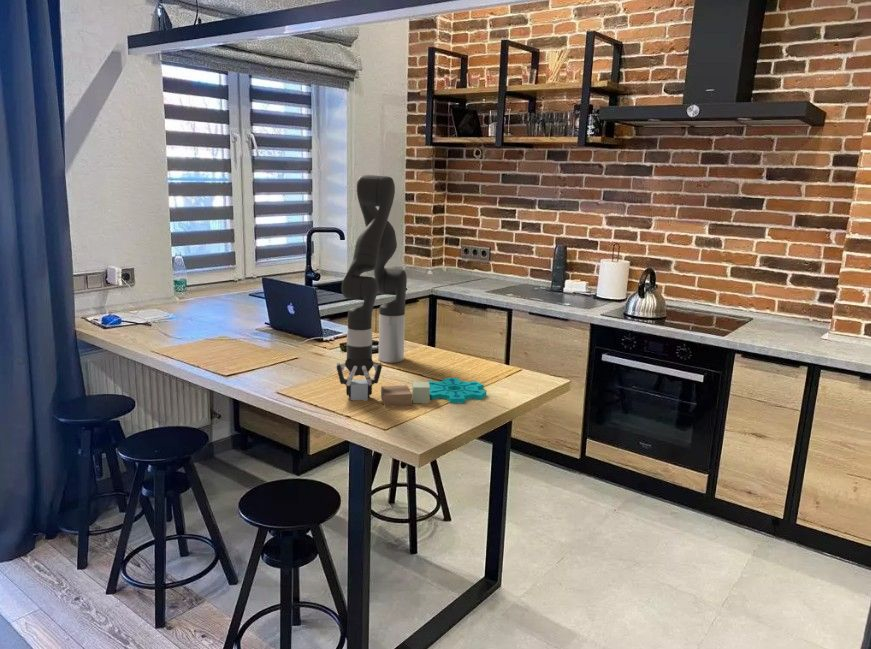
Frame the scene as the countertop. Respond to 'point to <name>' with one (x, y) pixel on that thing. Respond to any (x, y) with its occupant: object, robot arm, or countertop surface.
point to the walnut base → (396, 395)
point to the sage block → (420, 392)
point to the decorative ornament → (456, 390)
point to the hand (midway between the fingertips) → (358, 396)
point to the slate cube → (359, 389)
